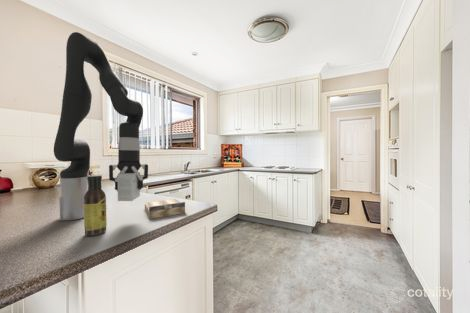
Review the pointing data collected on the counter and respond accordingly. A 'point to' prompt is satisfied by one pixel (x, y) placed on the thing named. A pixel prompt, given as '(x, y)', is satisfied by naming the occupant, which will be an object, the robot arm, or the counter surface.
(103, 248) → the counter surface
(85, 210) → the sauce bottle
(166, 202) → the brown patterned flat box
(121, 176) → the small box
